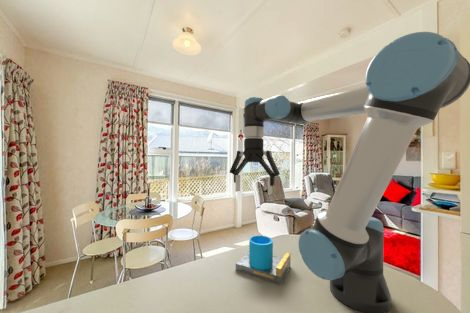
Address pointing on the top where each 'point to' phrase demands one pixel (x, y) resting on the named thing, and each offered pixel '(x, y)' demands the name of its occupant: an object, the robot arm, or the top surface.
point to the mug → (261, 252)
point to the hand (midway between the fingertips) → (253, 192)
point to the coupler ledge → (271, 274)
